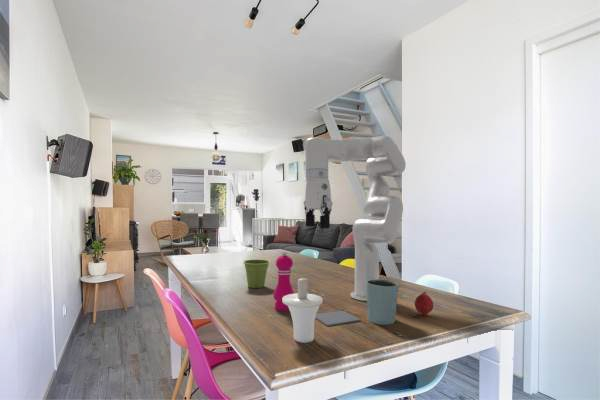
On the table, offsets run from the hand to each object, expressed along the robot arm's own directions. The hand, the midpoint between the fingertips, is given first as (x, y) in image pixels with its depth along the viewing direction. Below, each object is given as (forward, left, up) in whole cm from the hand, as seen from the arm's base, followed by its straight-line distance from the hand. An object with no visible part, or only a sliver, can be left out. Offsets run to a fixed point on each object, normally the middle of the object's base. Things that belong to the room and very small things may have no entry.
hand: (317, 227), depth 109 cm
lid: (+13, +15, -19) cm, 27 cm away
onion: (-33, +14, -29) cm, 47 cm away
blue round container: (-17, +12, -29) cm, 36 cm away
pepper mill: (+7, -12, -29) cm, 32 cm away
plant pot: (+6, -46, -29) cm, 55 cm away
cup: (+12, +15, -29) cm, 35 cm away
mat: (-4, +5, -29) cm, 30 cm away
